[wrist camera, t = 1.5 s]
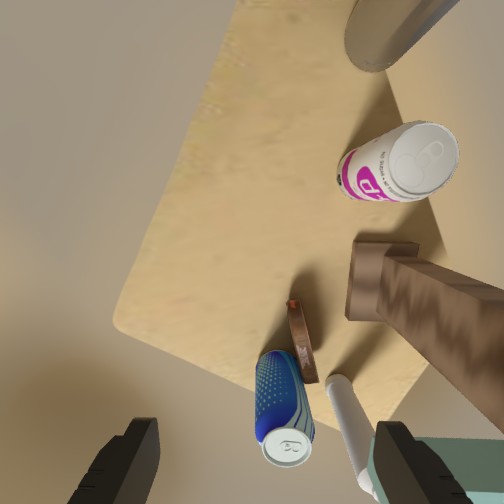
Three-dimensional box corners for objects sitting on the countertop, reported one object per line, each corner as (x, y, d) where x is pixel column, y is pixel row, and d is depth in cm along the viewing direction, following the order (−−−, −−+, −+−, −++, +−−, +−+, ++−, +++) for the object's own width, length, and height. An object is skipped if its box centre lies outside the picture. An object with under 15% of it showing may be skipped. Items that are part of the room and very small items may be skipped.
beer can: (276, 390, 48) (285, 482, 33) (246, 364, 47) (241, 447, 31) (307, 365, 47) (332, 449, 31) (277, 338, 46) (288, 411, 30)
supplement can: (354, 210, 40) (411, 218, 25) (324, 171, 39) (366, 156, 24) (396, 177, 39) (480, 164, 24) (366, 135, 37) (436, 96, 23)
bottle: (349, 371, 47) (448, 559, 23) (350, 393, 48) (447, 594, 24) (322, 374, 47) (392, 563, 23) (325, 396, 48) (393, 598, 24)
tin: (313, 360, 47) (326, 394, 38) (298, 363, 47) (306, 398, 39) (298, 290, 43) (307, 311, 35) (281, 293, 44) (286, 316, 35)
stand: (353, 241, 41) (589, 349, 12) (411, 242, 41) (798, 355, 12) (344, 315, 44) (515, 545, 15) (398, 316, 44) (678, 552, 15)
